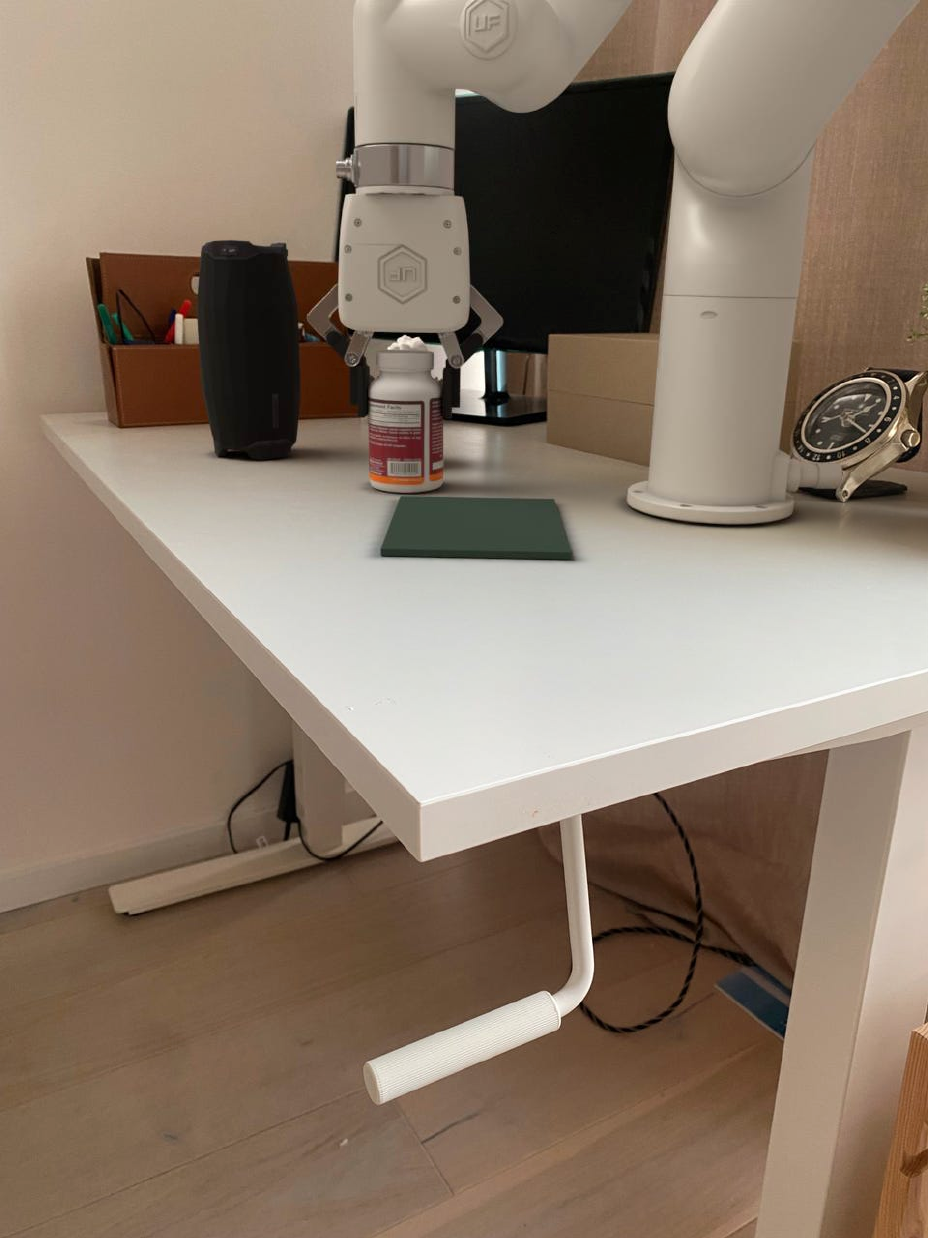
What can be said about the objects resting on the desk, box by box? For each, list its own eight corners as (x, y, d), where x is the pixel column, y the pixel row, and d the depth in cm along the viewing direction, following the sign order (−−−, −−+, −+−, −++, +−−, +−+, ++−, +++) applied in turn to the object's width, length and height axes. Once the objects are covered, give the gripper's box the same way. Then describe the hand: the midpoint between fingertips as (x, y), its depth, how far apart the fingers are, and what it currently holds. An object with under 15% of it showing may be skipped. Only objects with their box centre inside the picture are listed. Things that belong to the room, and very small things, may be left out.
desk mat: (554, 505, 77) (554, 498, 76) (571, 559, 62) (571, 552, 61) (400, 502, 77) (400, 495, 77) (380, 555, 62) (380, 548, 61)
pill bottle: (414, 477, 87) (414, 347, 83) (458, 488, 82) (460, 352, 79) (354, 484, 83) (352, 349, 79) (397, 497, 78) (396, 354, 75)
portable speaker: (203, 448, 99) (189, 241, 93) (296, 445, 102) (288, 244, 96) (210, 463, 92) (195, 238, 85) (310, 459, 94) (302, 241, 88)
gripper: (282, 169, 71) (292, 420, 77) (520, 173, 71) (512, 424, 77) (300, 180, 78) (308, 408, 84) (517, 183, 78) (509, 412, 84)
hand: (405, 414), depth 81 cm, fingers closed on pill bottle, 6 cm apart
